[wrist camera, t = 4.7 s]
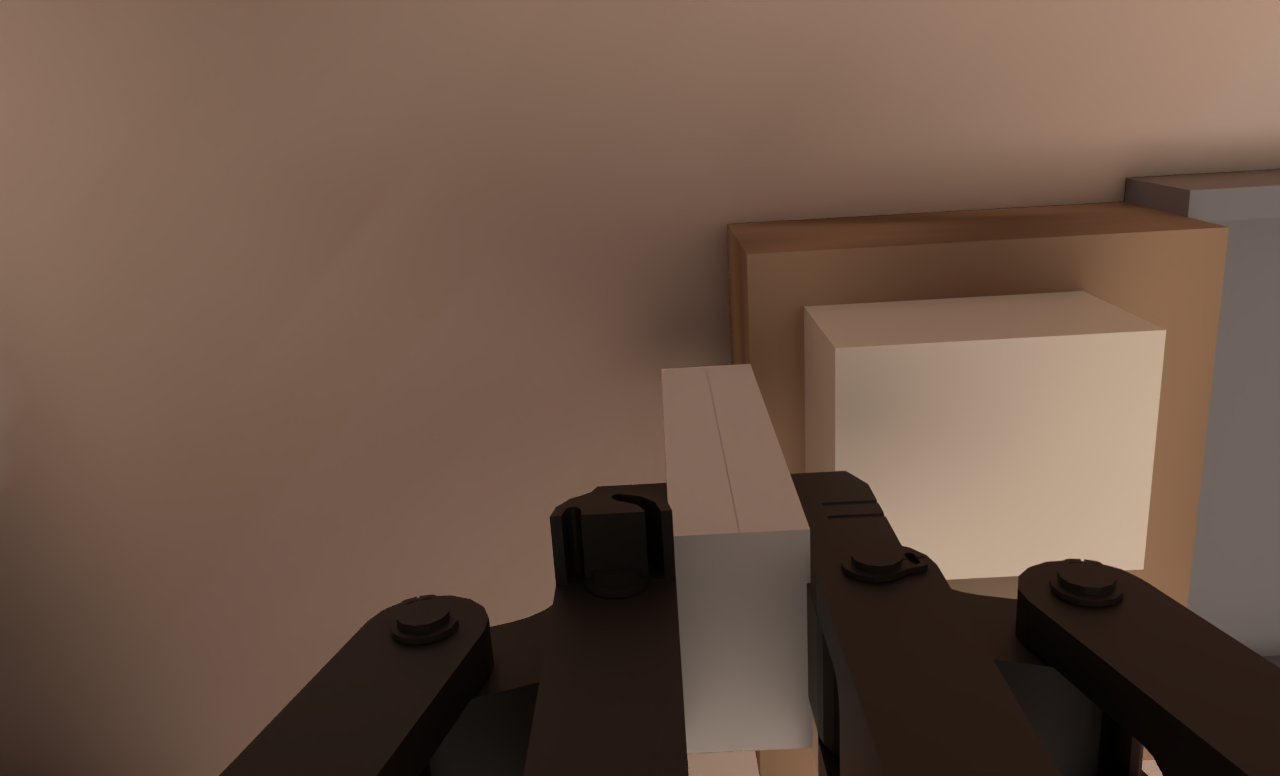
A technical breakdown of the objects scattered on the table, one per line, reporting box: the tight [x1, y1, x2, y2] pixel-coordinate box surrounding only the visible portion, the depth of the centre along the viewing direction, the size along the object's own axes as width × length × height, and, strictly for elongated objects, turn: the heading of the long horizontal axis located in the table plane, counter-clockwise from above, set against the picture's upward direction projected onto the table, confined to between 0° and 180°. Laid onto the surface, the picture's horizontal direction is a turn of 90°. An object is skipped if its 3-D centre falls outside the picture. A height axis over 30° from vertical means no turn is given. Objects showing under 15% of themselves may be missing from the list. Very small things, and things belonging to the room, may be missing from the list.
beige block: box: [804, 291, 1166, 580], centre depth 17 cm, size 5×4×3 cm
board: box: [727, 202, 1229, 776], centre depth 22 cm, size 8×11×4 cm
